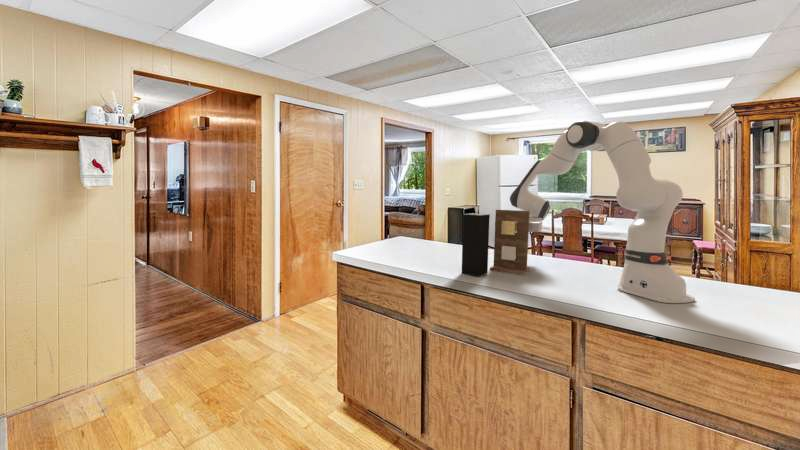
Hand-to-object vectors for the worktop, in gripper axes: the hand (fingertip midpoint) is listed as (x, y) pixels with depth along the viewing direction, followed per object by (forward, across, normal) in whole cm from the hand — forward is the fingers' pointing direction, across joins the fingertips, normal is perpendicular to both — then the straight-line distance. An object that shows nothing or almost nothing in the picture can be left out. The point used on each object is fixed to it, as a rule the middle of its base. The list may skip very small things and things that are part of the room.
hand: (513, 226), depth 155 cm
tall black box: (+16, -10, +19) cm, 27 cm away
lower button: (+2, 0, +14) cm, 14 cm away
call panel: (+2, 0, +19) cm, 19 cm away
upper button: (+3, 0, +3) cm, 4 cm away
